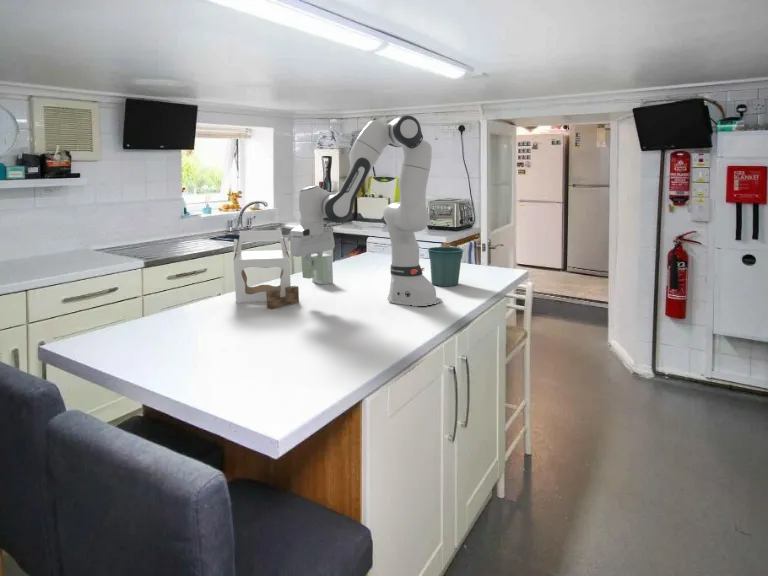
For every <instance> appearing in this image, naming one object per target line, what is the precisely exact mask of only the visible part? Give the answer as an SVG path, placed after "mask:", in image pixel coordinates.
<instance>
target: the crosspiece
mask: <svg viewBox="0 0 768 576" xmlns="http://www.w3.org/2000/svg"><path fill="white" fill-rule="evenodd" d="M300 257H301V273H302V278H304V279H312V278H314V273H313V270H315V271H317V280H320V281H326V280H328V265H327V257H323V256H315V255H312V254H311V257H310V258H311V260H312V261H313V263H314V264H313V265H311V266H309V265H308V261H307V260H306V258H305V255H304V256H300Z"/></svg>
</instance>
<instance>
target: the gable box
mask: <svg viewBox="0 0 768 576" xmlns="http://www.w3.org/2000/svg"><path fill="white" fill-rule="evenodd" d="M254 242H255V243H256V242H260V243H261V242H279V243H280V246H281V250H251V251H246V250H245V251H243V250H242V244H243V243H254ZM289 243H290V242H289V237H284V236H283V233H282V231H281V230H280V229H267V230H263V229H262V230H258V229H257V230H241V231H240V232H239V237H238V239H237V238H234V239H233V253H235V254H234V257H233V270H234V271H233V272H234V273H233V275H234V290H235V303H236V302H241V303H257V302H256V301H262V302H267V298H266V292H267V291H272V290H280V297H284V296H285V288H286V287H290V286H292V285H291V284H292V283H291V266H290V265H291V263H290V262H291V261H290V260H291V259H290V254H289V251H290V245H289ZM246 268H247V269H248V268H259V269H270V268H280V269H281V271H280V276H279V278H280V281H279V282H280V285H277V286H274V285H271V284H260V285H256V286H249V285H248V283H247V281H248V277H247V273H246V272H245V269H246Z"/></svg>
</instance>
